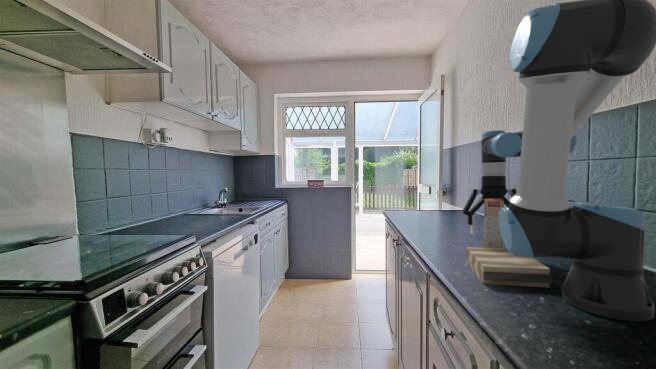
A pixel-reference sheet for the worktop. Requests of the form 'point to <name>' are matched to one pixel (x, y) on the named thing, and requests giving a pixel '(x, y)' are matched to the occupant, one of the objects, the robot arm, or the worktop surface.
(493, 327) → the worktop surface
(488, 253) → the dock
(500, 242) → the cracker box
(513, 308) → the worktop surface
